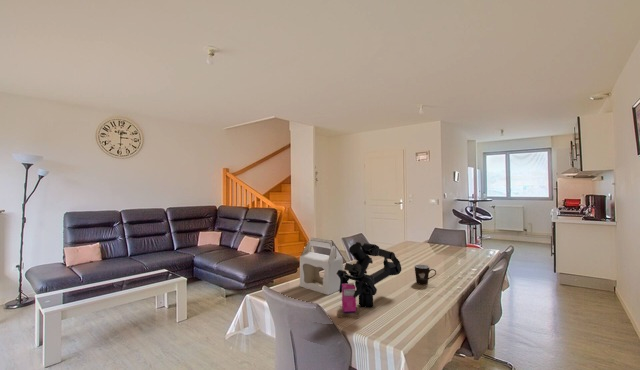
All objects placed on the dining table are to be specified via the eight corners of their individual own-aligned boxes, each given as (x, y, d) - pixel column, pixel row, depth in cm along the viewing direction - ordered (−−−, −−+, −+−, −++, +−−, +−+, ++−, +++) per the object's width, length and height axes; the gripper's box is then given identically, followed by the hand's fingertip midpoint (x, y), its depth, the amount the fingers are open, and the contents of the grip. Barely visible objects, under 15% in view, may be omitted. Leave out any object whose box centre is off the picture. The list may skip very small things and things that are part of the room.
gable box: (299, 286, 174) (299, 238, 174) (314, 280, 184) (314, 235, 184) (328, 295, 160) (328, 243, 160) (343, 288, 170) (343, 239, 170)
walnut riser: (358, 310, 140) (358, 307, 140) (358, 318, 132) (358, 315, 132) (339, 309, 142) (339, 305, 142) (337, 317, 133) (337, 314, 133)
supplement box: (341, 307, 140) (341, 283, 140) (354, 307, 140) (354, 283, 140) (343, 312, 134) (343, 287, 134) (356, 312, 134) (356, 287, 134)
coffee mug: (412, 283, 179) (411, 266, 179) (418, 279, 185) (418, 263, 186) (431, 287, 171) (431, 270, 171) (437, 283, 178) (436, 267, 178)
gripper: (338, 253, 146) (323, 280, 138) (370, 259, 133) (354, 290, 125) (349, 265, 152) (334, 293, 144) (380, 273, 138) (366, 304, 131)
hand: (346, 295), depth 136 cm, fingers open, 8 cm apart
